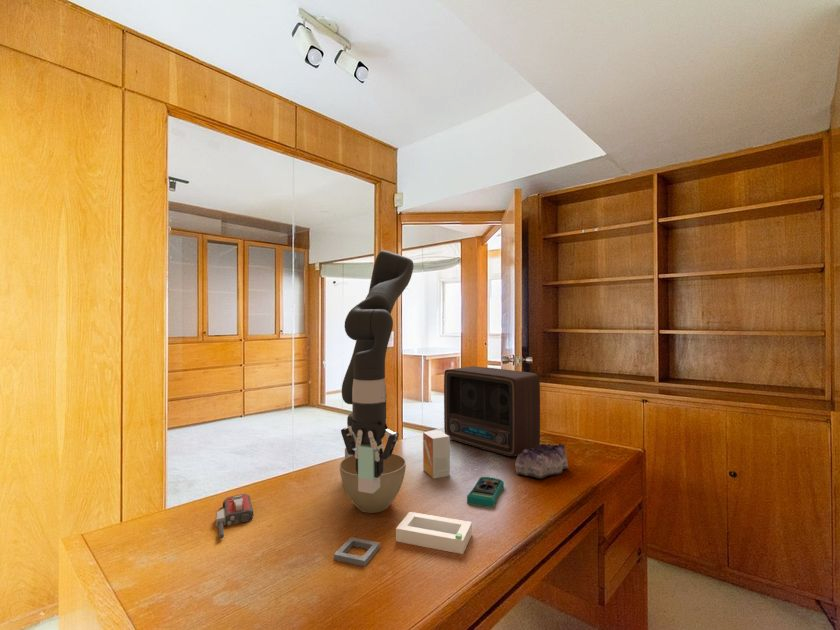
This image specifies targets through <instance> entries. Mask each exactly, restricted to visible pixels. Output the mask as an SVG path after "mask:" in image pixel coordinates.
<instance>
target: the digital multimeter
mask: <svg viewBox="0 0 840 630" xmlns="http://www.w3.org/2000/svg"><path fill="white" fill-rule="evenodd" d="M504 485H505V483H504V481H503V480H502V479H500V478H497V477H496V478H495V477H489V476H481V477H479V478H478V480H477V481H476V483H475V485H474V486H473V488H472V489H471V490H470V492H469V493H468V494H467V496H466V503H467V504H469V505H470V504H471V505H474V506H480V507H487V508H494V507H495V504H496V502H497V500H498V498H499V495H500V494H501V492H502V491H503V490H504V487H505V486H504Z"/></svg>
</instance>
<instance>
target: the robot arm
mask: <svg viewBox="0 0 840 630" xmlns="http://www.w3.org/2000/svg"><path fill="white" fill-rule="evenodd" d="M373 264H374V265H373V268H372V272H371V273H372V274H371V278H370V283H369V288H368V293H367V295H366V296H365V299H363V300H361V301H360V302H359V303H358V304H356V305H355V306H354V307H352V308H351V309H350V310H349V312H348V313H347V315H346V317H345V320H344V331H345V334H346V336H348V338H349V339H351V340H353V341H355V345H354V349H353V352H352V354H351V359H350V361H349V365H348V366H347V368H346V369H347V370H346V372H345V375H344V377H343V380H342V384H341V397H342V398H341V399H342V400H343V402H344V403H345V404H347V405H352V406H351V407H352V412H350V414H348V416H347V417H346V418H347V420H346V421H347V422H346V423H347V425H346V427H343V428H342V429H340V433H341V435H342V436H341V437H342V440H343V442H344V445H345V448H344V459H345V458H347V457H350V456H352V455H353V456H355V458H356V472H358V446H361V445H362V444H369V445H371V448H373V451H374V457H375V460H376V461H374V477H375V478H378V477H379V476H381V474H382V473H383V460H386V459H387V458H388V457H390V456H391V455H392V453H393V452H394V448H395V446H396V445H397V444H396V443H397V441H398V438H399V432H398V431H392V430H390V429H389V428H388V425H387V396H388V395H387V385H386V356H387V355H386V354H387V350H388V345H389V341H390V338H391V336H392V331H393V328H394V320H393V316H392V315H391V314H392V311H393V310H394V309H393V308H394V305H395V304H396V302H397V300H398V299H399V298H400V296H401V295H402V294H403V292H404V291H405V290H406V288H407V287H408V285H409V283H410V281H411V280H412V275H413V273H414V272H413V271H414V261H413V260H412V259H411V258H409V257H408V256H406V255H402V254H398V253H395V252H392V251H389V250H384V249H382V250H381V251H379V252H378V254H377V256H376V257H375V261H374V263H373ZM385 436H386V438H385V441H387V442H386V443H385V445H384V441H383V438H384V437H385ZM377 444H378V445H377ZM384 446H385V448H384Z"/></svg>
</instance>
